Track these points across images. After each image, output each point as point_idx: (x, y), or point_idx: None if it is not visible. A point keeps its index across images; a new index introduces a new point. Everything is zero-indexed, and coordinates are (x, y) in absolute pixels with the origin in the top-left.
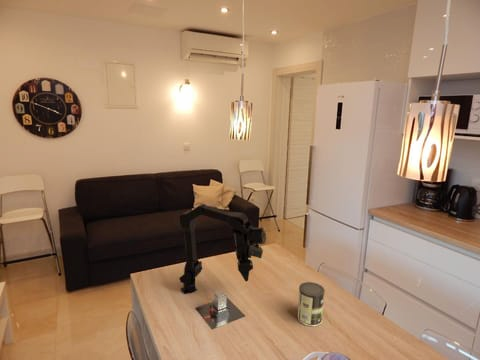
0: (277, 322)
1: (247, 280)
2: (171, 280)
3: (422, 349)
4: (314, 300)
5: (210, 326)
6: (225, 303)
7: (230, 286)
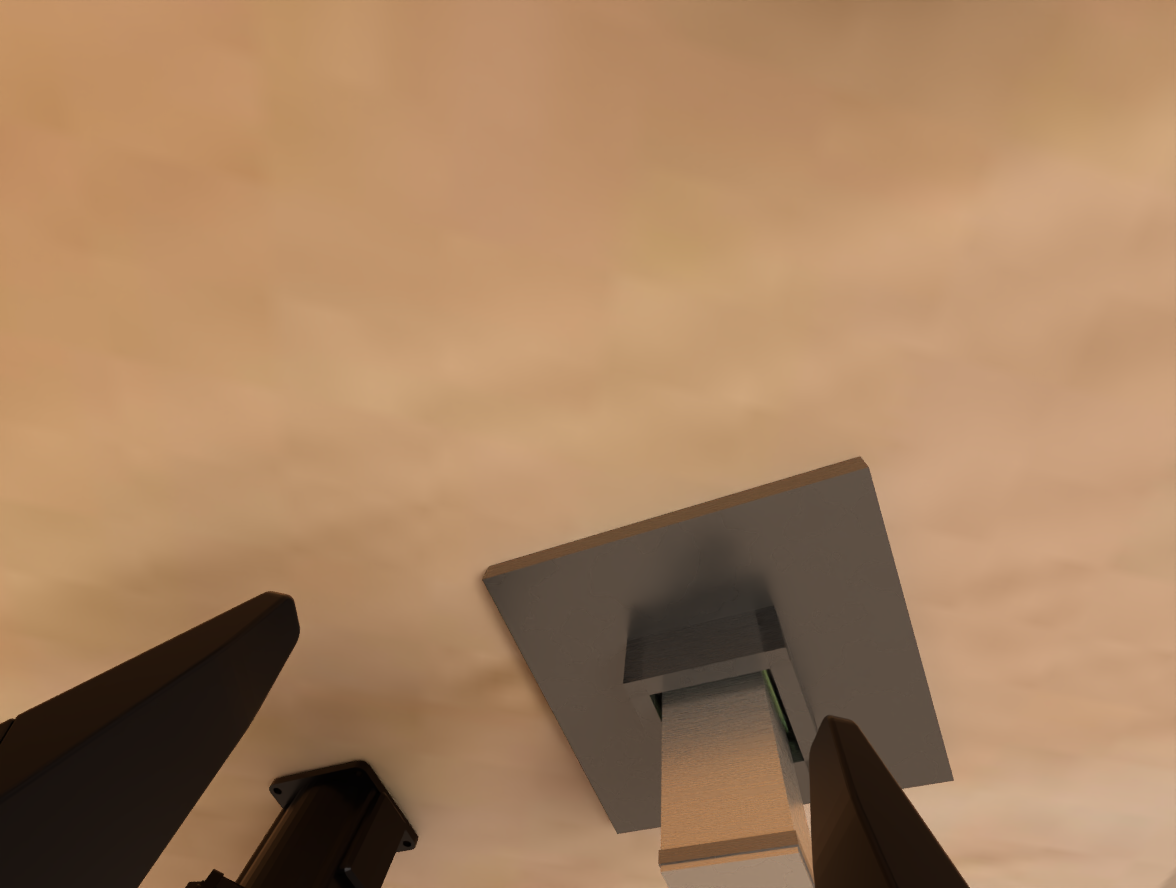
0: (1096, 68)
1: (864, 750)
2: None
3: None
4: None
5: (908, 782)
6: (774, 734)
7: (261, 486)
